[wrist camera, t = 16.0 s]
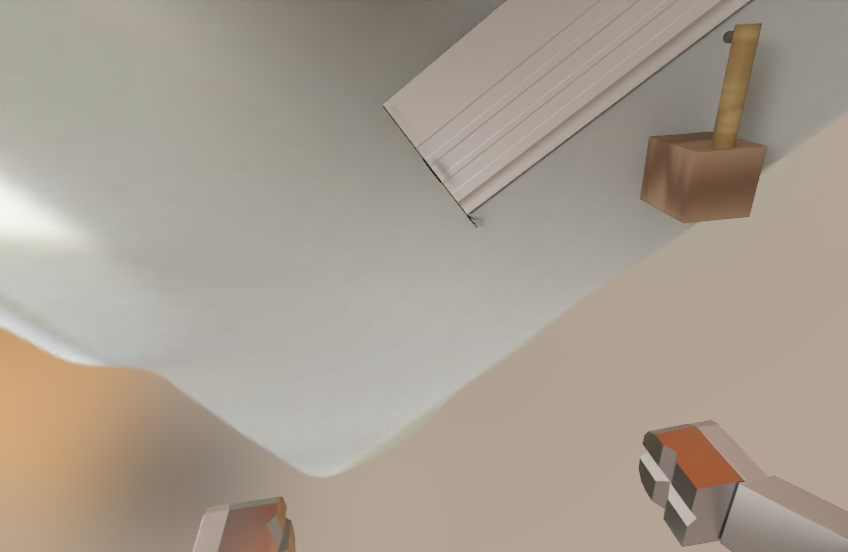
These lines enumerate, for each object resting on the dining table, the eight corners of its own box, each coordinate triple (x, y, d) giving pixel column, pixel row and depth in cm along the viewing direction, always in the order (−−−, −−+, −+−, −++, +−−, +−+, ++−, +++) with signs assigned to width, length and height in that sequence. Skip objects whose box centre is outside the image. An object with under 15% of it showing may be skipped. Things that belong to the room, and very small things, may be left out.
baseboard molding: (830, -43, 34) (777, -232, 29) (868, -50, 31) (818, -259, 26) (474, 224, 40) (381, 103, 35) (482, 237, 37) (382, 107, 32)
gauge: (664, 28, 34) (721, 26, 29) (731, 24, 35) (798, 20, 29) (639, 198, 40) (683, 223, 34) (697, 193, 40) (749, 216, 35)
